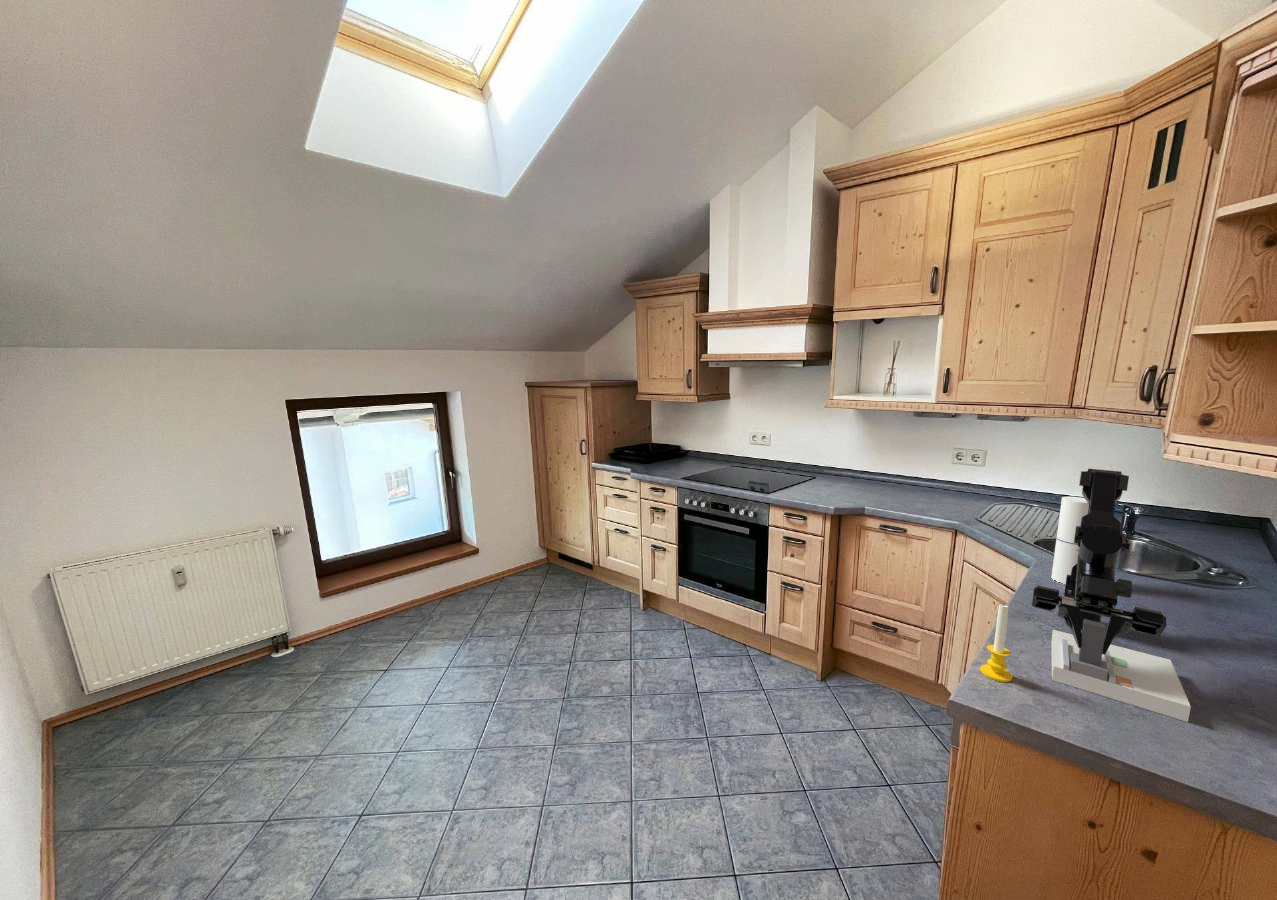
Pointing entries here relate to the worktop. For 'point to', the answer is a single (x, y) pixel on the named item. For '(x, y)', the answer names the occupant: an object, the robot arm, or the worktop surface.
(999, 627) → the candle
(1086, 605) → the robot arm
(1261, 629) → the worktop surface
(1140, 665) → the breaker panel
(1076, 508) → the cylindrical container
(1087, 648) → the handle
